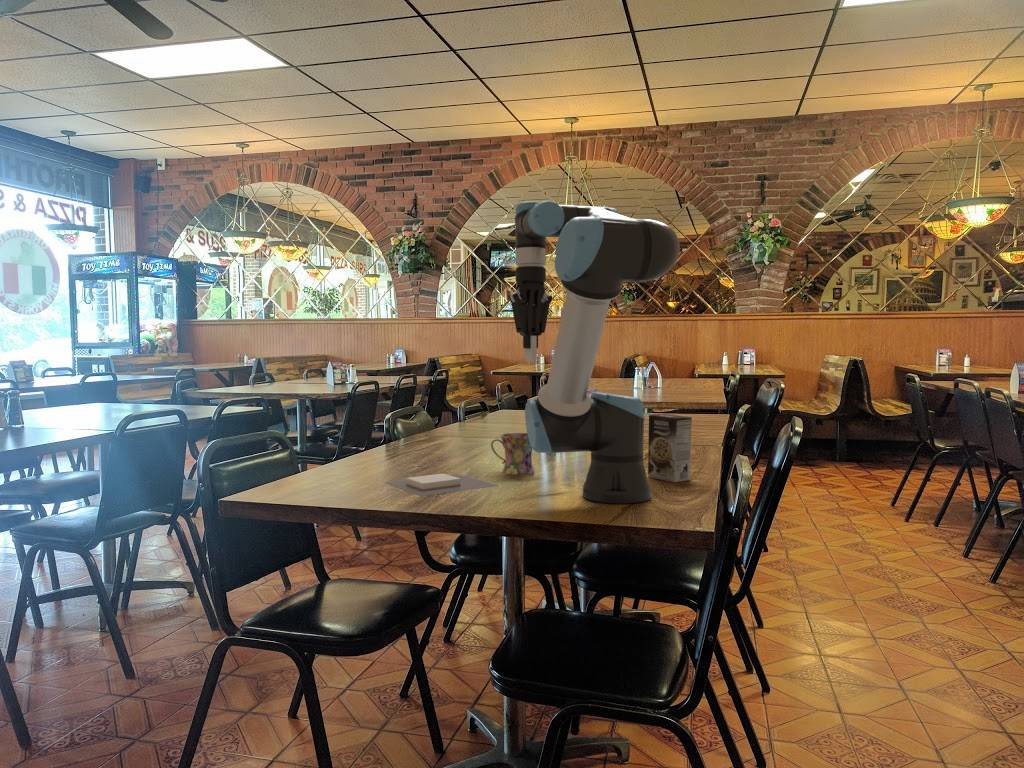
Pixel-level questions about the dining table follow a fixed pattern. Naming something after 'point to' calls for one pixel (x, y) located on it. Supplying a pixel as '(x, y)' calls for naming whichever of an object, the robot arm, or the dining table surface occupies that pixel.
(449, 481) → the tile
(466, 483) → the slate board
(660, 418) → the cookie box
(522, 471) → the mug
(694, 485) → the dining table surface
